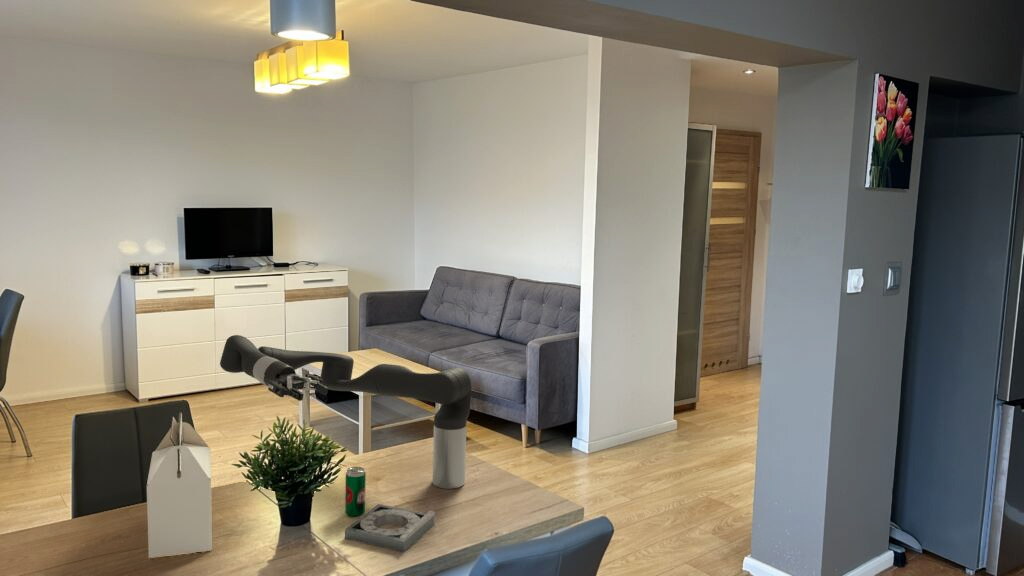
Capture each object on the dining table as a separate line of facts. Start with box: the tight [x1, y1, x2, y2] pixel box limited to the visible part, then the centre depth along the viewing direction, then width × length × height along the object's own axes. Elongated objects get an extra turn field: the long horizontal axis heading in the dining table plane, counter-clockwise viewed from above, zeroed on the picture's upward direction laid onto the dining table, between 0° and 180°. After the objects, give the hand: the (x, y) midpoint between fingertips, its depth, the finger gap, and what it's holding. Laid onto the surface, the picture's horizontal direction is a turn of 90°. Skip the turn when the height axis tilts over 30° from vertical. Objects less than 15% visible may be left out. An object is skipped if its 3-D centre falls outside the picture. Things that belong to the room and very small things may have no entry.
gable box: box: [146, 412, 213, 558], centre depth 185 cm, size 22×13×28 cm, turn 21°
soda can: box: [344, 466, 367, 518], centre depth 201 cm, size 5×5×12 cm
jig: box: [344, 503, 435, 553], centre depth 193 cm, size 16×16×4 cm
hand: (314, 394), depth 206 cm, fingers open, 8 cm apart
